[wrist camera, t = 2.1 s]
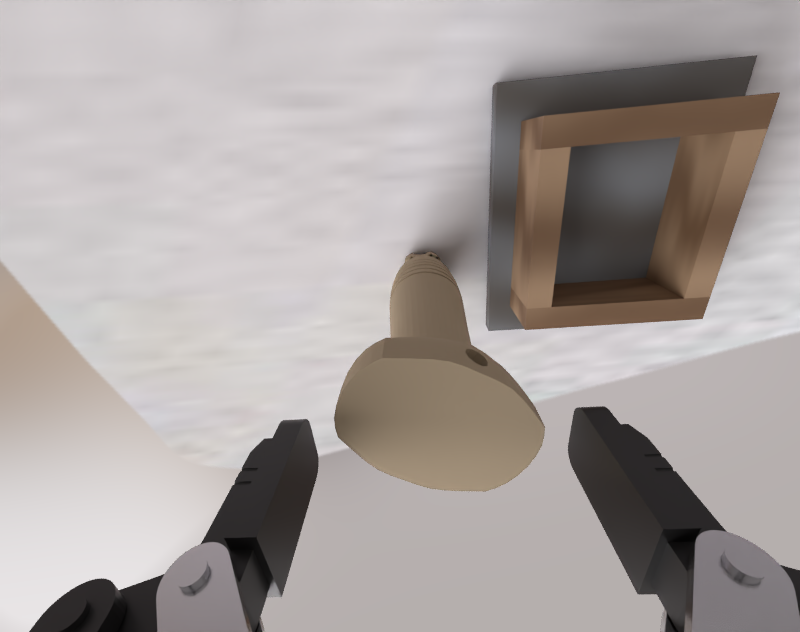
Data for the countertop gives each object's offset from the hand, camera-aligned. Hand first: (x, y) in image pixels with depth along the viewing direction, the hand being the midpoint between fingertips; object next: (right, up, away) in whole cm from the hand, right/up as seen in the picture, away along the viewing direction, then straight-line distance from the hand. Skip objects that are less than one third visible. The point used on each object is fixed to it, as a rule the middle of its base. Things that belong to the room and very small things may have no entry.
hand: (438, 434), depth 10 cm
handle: (0, +7, +13) cm, 15 cm away
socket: (+11, +10, +11) cm, 19 cm away
